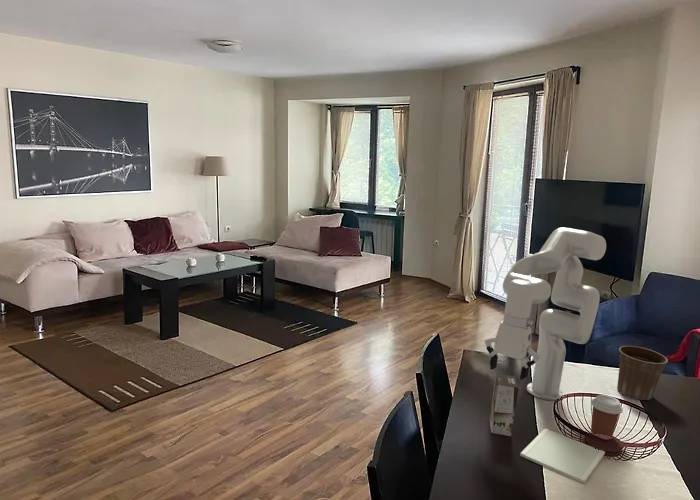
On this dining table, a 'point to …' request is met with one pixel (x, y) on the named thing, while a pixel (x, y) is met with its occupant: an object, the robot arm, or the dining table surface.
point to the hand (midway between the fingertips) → (507, 373)
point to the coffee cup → (605, 414)
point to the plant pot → (639, 372)
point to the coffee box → (503, 404)
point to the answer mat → (563, 455)
